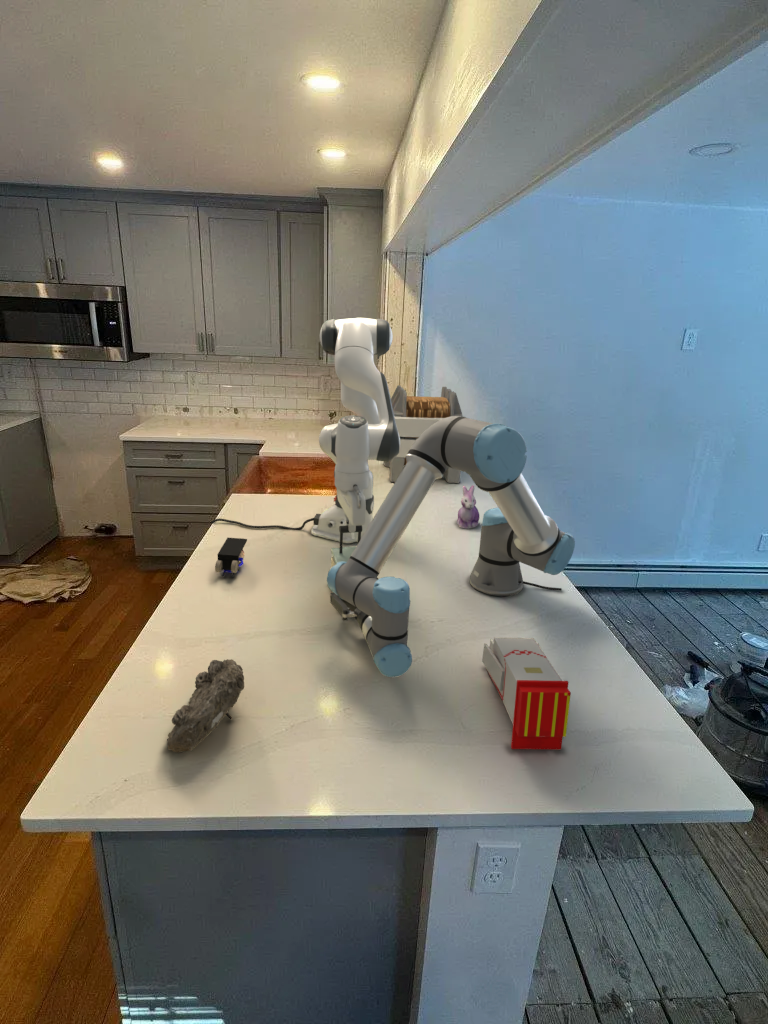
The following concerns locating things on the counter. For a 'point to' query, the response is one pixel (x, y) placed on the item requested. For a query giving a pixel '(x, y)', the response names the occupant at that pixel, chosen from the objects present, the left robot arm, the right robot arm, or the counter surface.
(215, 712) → the fossil
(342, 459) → the left robot arm
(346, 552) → the lid
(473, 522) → the figurine
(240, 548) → the figurine character
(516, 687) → the toy
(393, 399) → the transformer
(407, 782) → the counter surface
